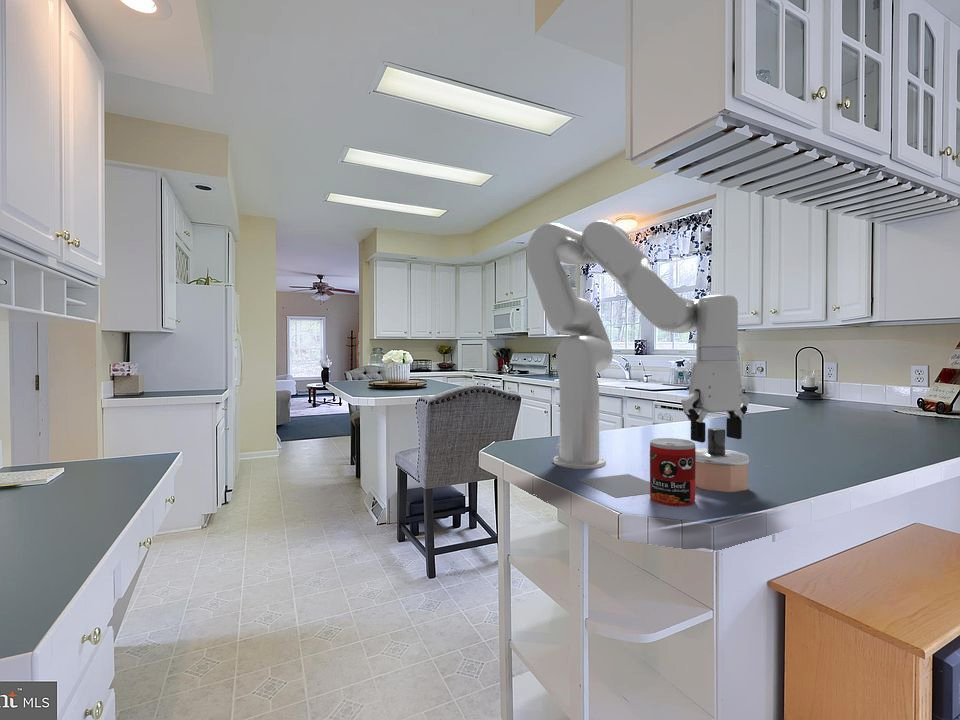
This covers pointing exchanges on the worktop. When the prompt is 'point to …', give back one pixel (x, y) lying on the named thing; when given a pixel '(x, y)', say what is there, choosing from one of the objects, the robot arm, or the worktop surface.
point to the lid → (719, 451)
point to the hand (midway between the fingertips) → (716, 439)
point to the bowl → (721, 477)
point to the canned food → (672, 471)
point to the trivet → (619, 485)
